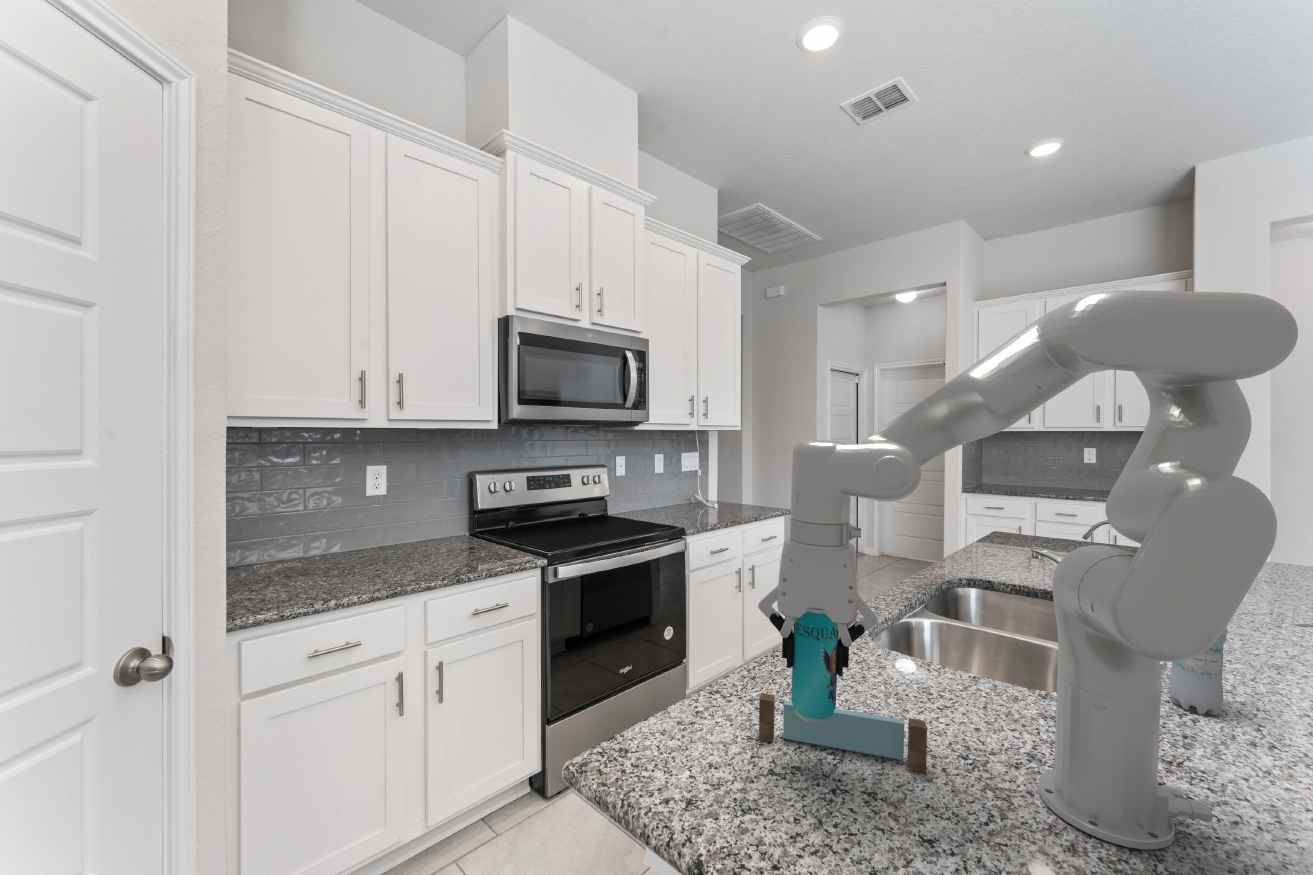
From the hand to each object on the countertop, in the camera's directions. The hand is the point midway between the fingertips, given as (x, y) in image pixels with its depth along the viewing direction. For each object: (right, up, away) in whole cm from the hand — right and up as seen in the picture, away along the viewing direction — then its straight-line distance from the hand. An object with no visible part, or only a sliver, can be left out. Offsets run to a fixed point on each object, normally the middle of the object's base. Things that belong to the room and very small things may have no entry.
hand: (814, 666), depth 73 cm
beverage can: (0, -7, 0) cm, 7 cm away
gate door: (+5, -13, +5) cm, 15 cm away
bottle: (+67, -14, +17) cm, 71 cm away
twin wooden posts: (+4, -14, +4) cm, 15 cm away
